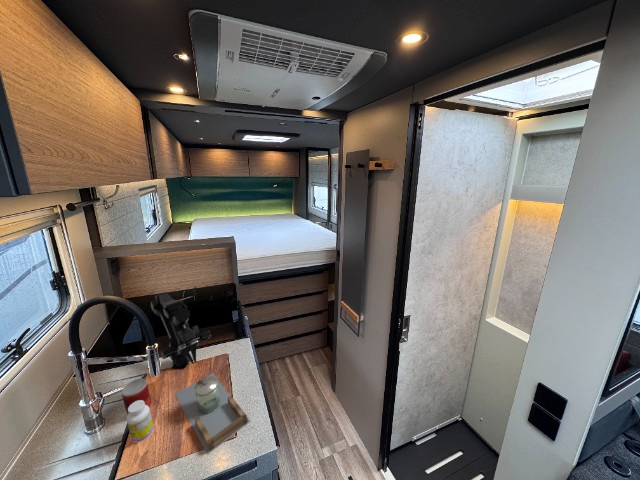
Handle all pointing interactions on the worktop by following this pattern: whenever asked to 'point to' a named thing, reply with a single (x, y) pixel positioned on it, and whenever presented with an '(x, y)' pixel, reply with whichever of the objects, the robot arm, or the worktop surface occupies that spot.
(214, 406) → the tea tin
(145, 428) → the supplement bottle
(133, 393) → the canned food
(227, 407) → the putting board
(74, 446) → the worktop surface
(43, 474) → the worktop surface
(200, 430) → the walnut pocket
